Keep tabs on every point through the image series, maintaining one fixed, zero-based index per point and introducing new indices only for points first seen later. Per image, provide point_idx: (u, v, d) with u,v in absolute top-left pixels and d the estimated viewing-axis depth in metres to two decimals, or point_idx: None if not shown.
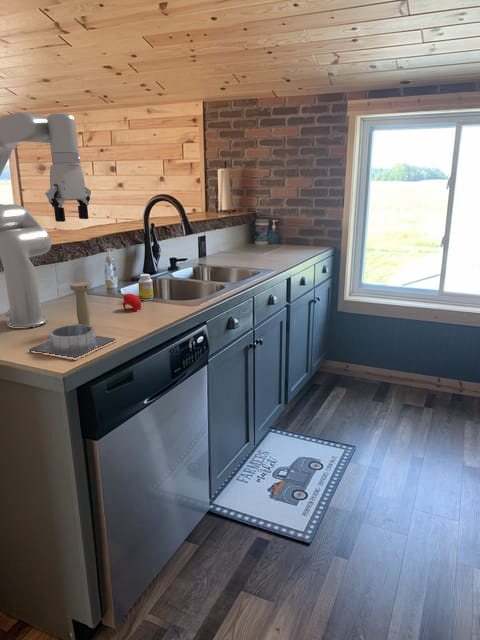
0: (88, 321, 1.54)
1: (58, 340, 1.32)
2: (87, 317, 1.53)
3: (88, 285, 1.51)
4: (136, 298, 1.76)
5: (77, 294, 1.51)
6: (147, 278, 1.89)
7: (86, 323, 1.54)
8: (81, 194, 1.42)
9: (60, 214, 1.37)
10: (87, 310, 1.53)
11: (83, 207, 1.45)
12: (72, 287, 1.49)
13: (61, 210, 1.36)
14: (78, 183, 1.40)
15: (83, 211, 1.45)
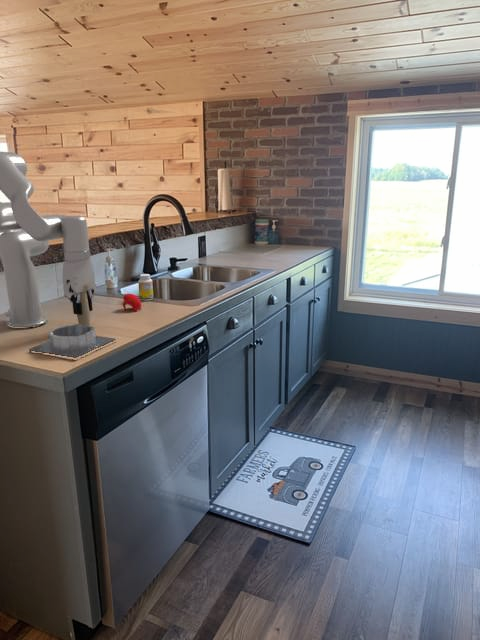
0: (88, 321, 1.54)
1: (58, 340, 1.32)
2: (87, 317, 1.53)
3: (88, 285, 1.51)
4: (136, 298, 1.76)
5: None
6: (147, 278, 1.89)
7: (86, 323, 1.54)
8: (91, 285, 1.53)
9: (78, 308, 1.50)
10: (87, 310, 1.53)
11: None
12: None
13: (79, 305, 1.50)
14: (88, 276, 1.51)
15: None
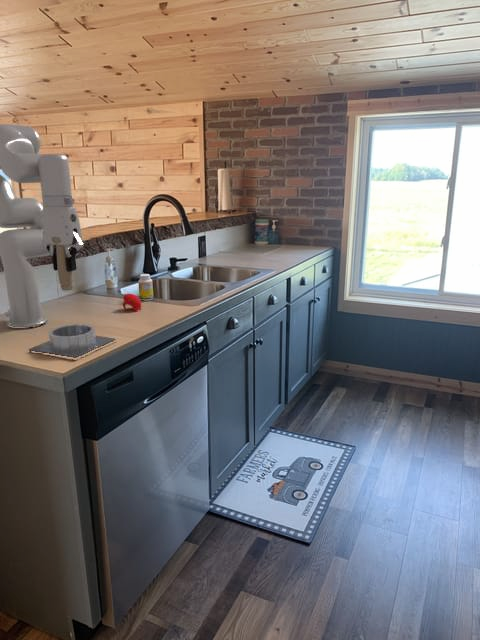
0: (61, 281, 1.32)
1: (58, 340, 1.32)
2: (60, 276, 1.31)
3: (57, 239, 1.27)
4: (136, 298, 1.76)
5: None
6: (147, 278, 1.89)
7: (60, 282, 1.32)
8: (63, 240, 1.27)
9: None
10: (59, 268, 1.31)
11: None
12: None
13: None
14: (58, 228, 1.26)
15: None
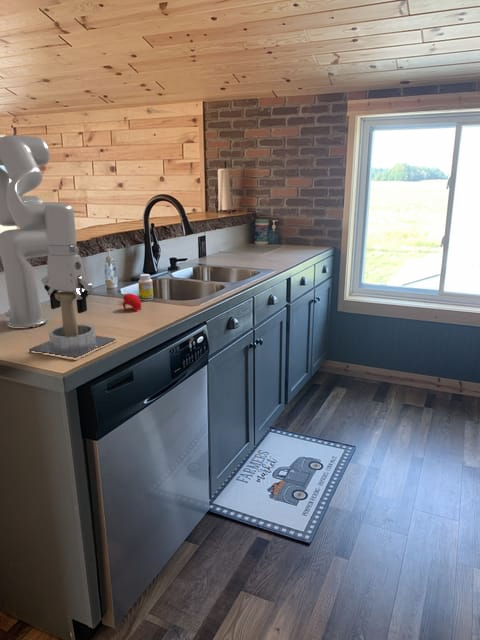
0: None
1: (58, 340, 1.32)
2: (65, 331, 1.36)
3: (62, 297, 1.32)
4: (136, 298, 1.76)
5: None
6: (147, 278, 1.89)
7: None
8: (67, 286, 1.31)
9: None
10: (65, 323, 1.35)
11: None
12: None
13: None
14: (63, 275, 1.30)
15: None
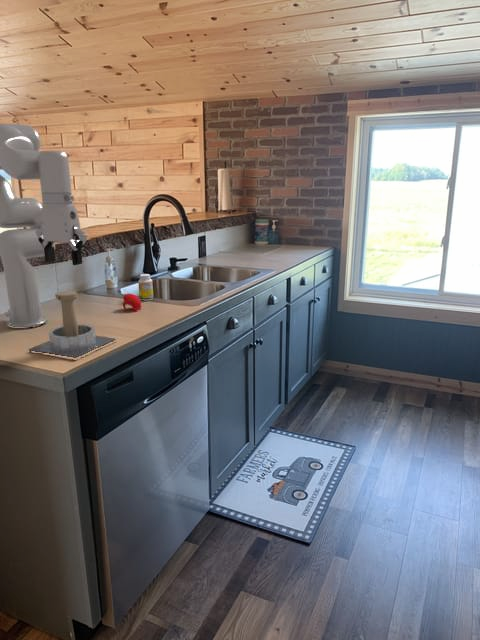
0: None
1: (58, 340, 1.32)
2: (65, 331, 1.36)
3: (62, 297, 1.32)
4: (136, 298, 1.76)
5: None
6: (147, 278, 1.89)
7: None
8: (62, 237, 1.27)
9: None
10: (65, 323, 1.35)
11: None
12: None
13: None
14: (57, 225, 1.26)
15: None
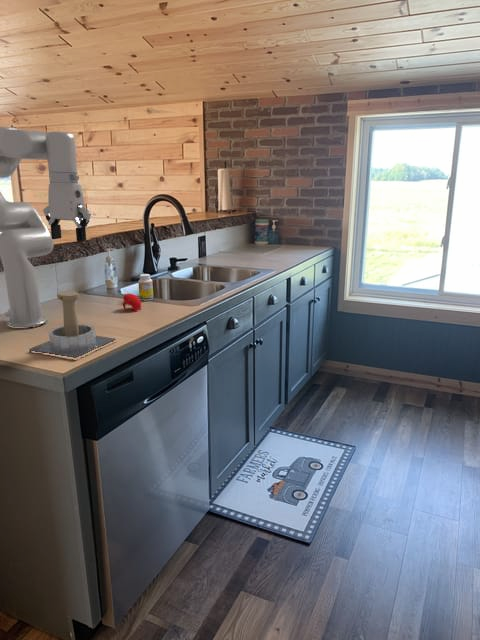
0: None
1: (58, 340, 1.32)
2: (66, 331, 1.36)
3: (64, 297, 1.32)
4: (136, 298, 1.76)
5: None
6: (147, 278, 1.89)
7: None
8: (67, 215, 1.33)
9: None
10: (66, 323, 1.35)
11: None
12: None
13: None
14: (63, 203, 1.33)
15: None
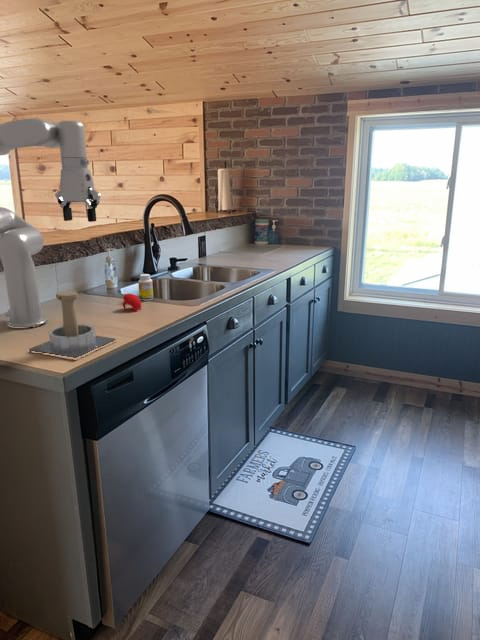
0: None
1: (58, 340, 1.32)
2: (65, 331, 1.36)
3: (63, 297, 1.32)
4: (136, 298, 1.76)
5: None
6: (147, 278, 1.89)
7: None
8: (79, 197, 1.46)
9: None
10: (65, 324, 1.35)
11: None
12: None
13: None
14: (75, 186, 1.45)
15: None
